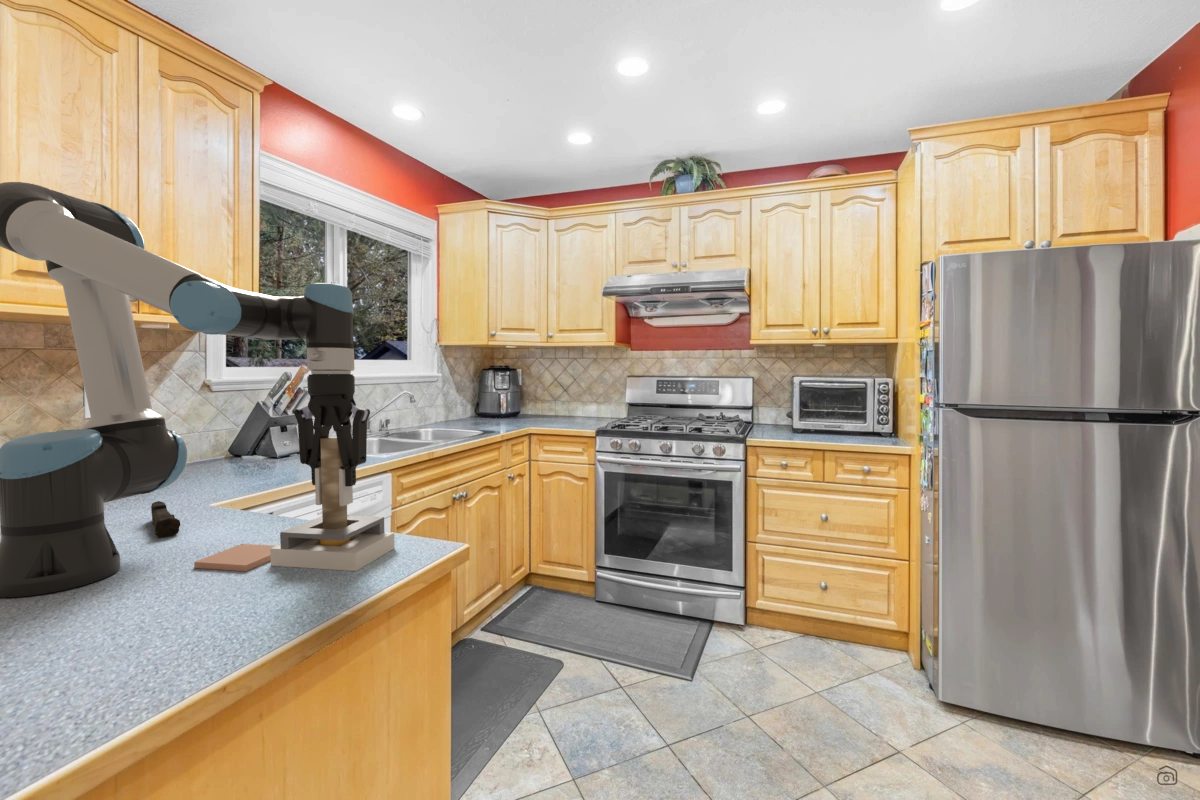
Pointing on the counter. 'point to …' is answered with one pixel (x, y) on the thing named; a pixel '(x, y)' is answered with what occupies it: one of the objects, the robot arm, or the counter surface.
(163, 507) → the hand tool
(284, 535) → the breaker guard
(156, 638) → the counter surface
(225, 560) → the rest tile
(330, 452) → the wooden cylinder
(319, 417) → the robot arm
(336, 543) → the button
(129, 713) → the counter surface
